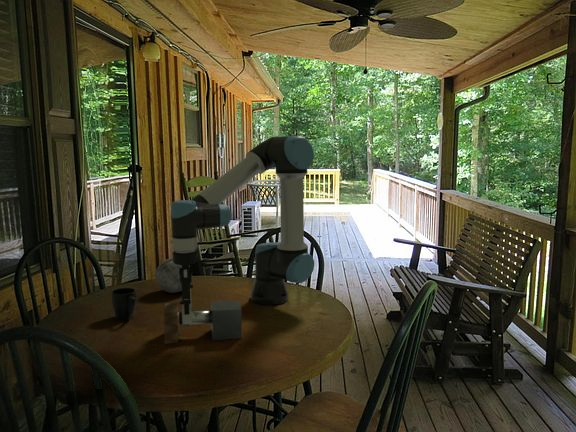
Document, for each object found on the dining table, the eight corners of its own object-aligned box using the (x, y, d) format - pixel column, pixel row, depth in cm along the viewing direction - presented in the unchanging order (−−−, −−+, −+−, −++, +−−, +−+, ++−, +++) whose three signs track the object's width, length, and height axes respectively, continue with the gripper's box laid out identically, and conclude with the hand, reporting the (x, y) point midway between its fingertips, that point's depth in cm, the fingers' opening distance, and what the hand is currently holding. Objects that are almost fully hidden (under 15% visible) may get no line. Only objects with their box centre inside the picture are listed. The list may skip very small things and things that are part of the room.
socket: (178, 331, 146) (178, 302, 144) (178, 342, 137) (177, 312, 136) (166, 332, 145) (165, 303, 143) (164, 343, 136) (163, 313, 135)
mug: (121, 326, 149) (120, 298, 148) (108, 316, 158) (107, 290, 157) (144, 320, 155) (144, 294, 153) (131, 311, 164) (130, 286, 162)
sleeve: (238, 327, 150) (238, 300, 148) (241, 338, 141) (241, 309, 140) (211, 329, 148) (211, 301, 146) (212, 340, 139) (212, 310, 138)
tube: (217, 320, 146) (217, 306, 145) (218, 326, 141) (218, 311, 140) (173, 323, 143) (173, 309, 142) (172, 329, 138) (172, 314, 137)
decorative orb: (181, 285, 198) (181, 252, 196) (198, 292, 187) (198, 258, 185) (150, 291, 188) (149, 256, 186) (166, 300, 177) (165, 263, 175)
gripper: (174, 242, 149) (176, 303, 152) (170, 260, 125) (173, 332, 128) (196, 241, 151) (198, 302, 154) (197, 259, 127) (200, 330, 130)
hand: (187, 315), depth 141 cm, fingers open, 13 cm apart
